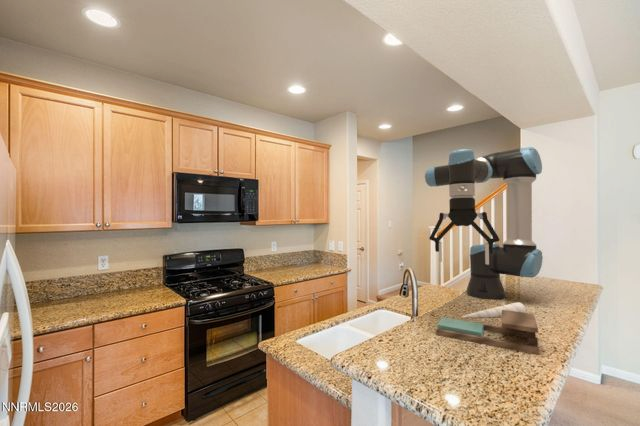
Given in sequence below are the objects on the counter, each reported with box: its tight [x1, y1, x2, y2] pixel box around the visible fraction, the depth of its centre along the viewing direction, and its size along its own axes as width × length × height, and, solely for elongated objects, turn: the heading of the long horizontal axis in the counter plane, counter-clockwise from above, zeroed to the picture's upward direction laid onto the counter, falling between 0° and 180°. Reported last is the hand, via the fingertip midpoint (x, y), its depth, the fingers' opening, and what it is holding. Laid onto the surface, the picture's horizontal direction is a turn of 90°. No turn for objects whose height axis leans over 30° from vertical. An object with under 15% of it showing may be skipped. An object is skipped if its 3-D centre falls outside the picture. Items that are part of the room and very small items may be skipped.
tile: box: [437, 316, 485, 337], centre depth 90 cm, size 12×8×3 cm, turn 56°
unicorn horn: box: [460, 301, 527, 319], centre depth 104 cm, size 5×24×5 cm, turn 92°
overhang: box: [436, 310, 540, 356], centre depth 87 cm, size 25×14×7 cm, turn 57°
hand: (463, 262), depth 93 cm, fingers open, 13 cm apart
